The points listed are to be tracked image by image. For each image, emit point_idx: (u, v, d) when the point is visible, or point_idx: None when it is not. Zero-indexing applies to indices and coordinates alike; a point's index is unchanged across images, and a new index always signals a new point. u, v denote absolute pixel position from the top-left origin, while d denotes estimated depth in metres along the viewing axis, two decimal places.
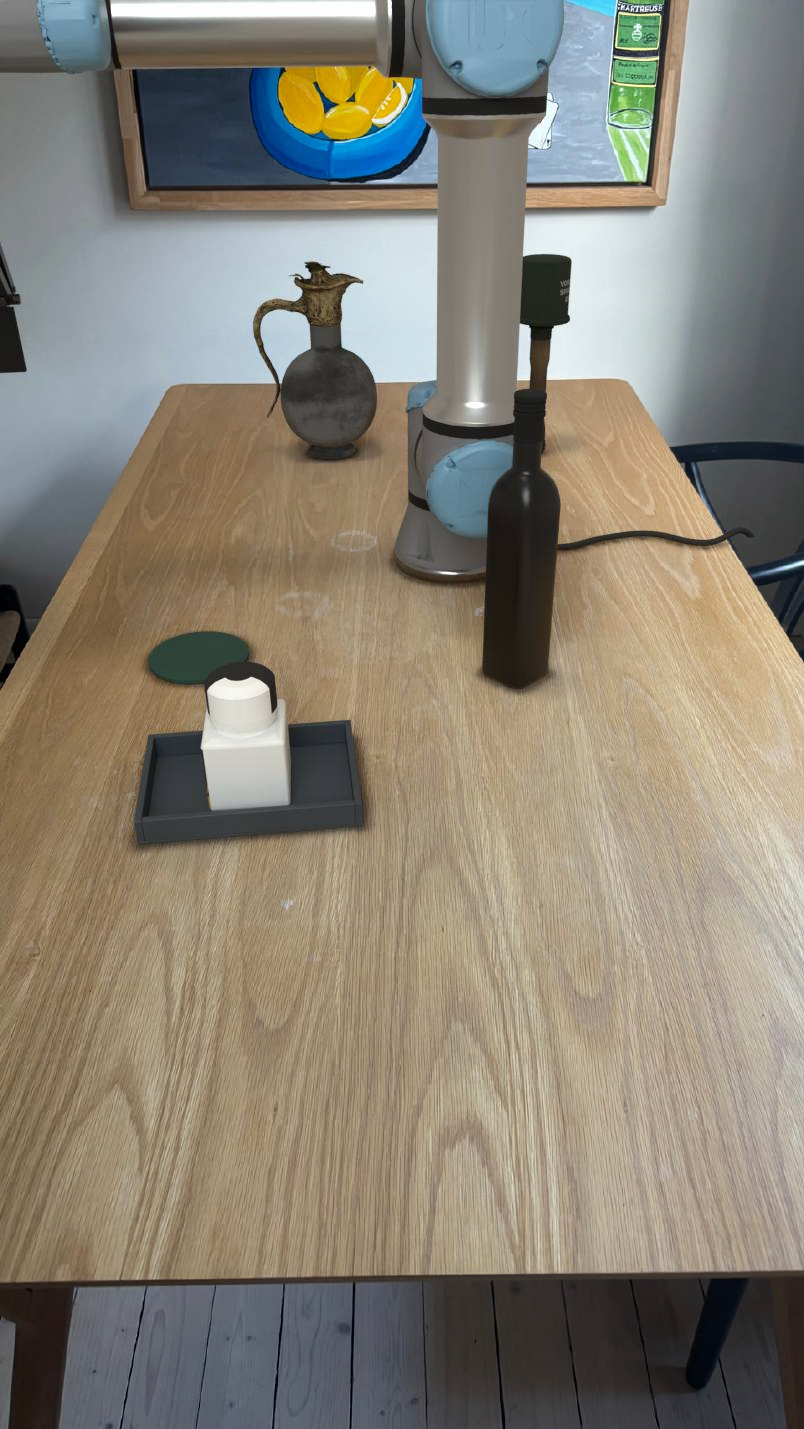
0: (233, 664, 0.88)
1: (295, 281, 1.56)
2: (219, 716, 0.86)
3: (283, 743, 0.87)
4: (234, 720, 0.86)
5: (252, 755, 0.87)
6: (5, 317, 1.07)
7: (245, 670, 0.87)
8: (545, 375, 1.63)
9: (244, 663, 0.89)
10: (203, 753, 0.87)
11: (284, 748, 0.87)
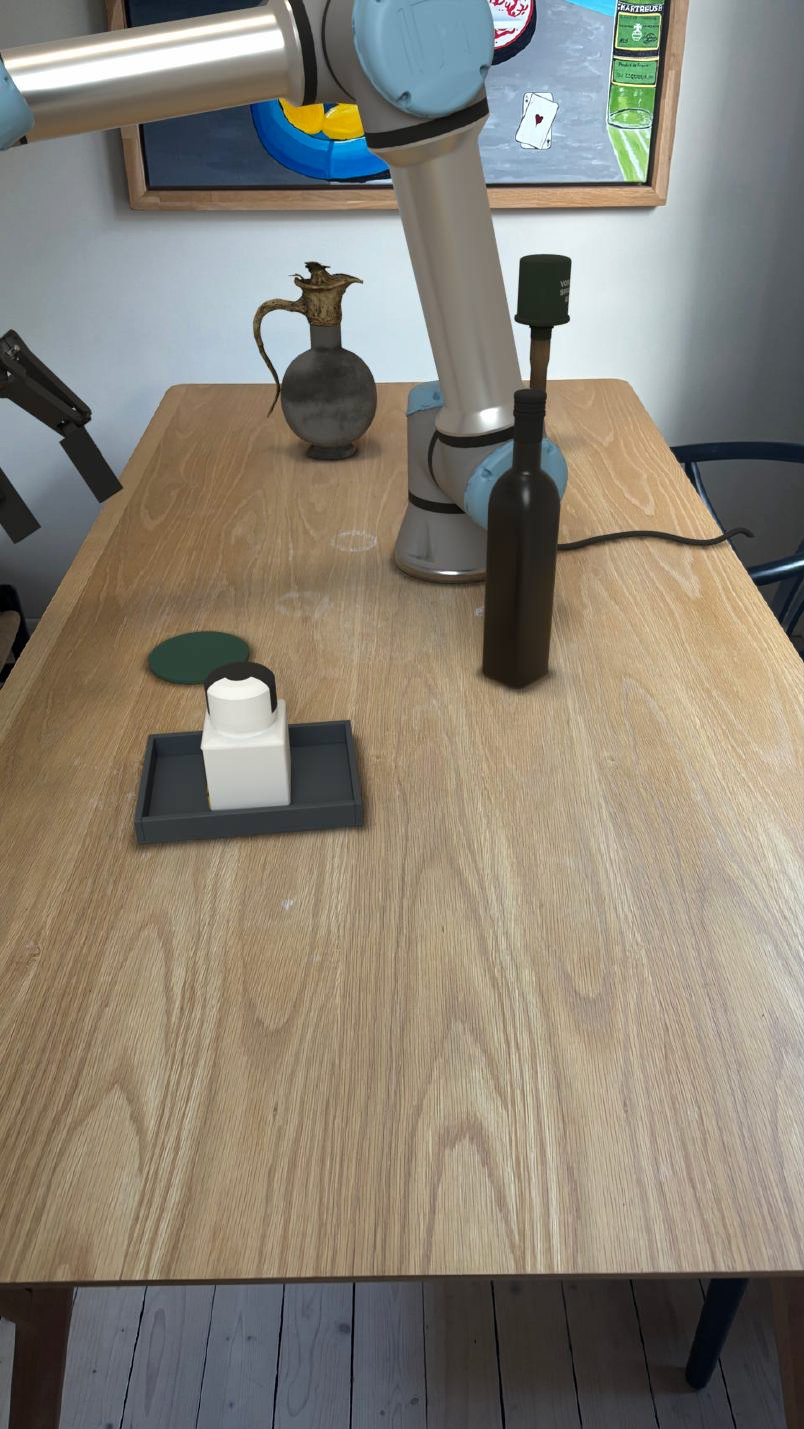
0: (233, 664, 0.88)
1: (295, 281, 1.56)
2: (219, 716, 0.86)
3: (283, 743, 0.87)
4: (234, 720, 0.86)
5: (252, 755, 0.87)
6: (78, 441, 0.94)
7: (245, 670, 0.87)
8: (545, 375, 1.63)
9: (244, 663, 0.89)
10: (203, 753, 0.87)
11: (284, 748, 0.87)
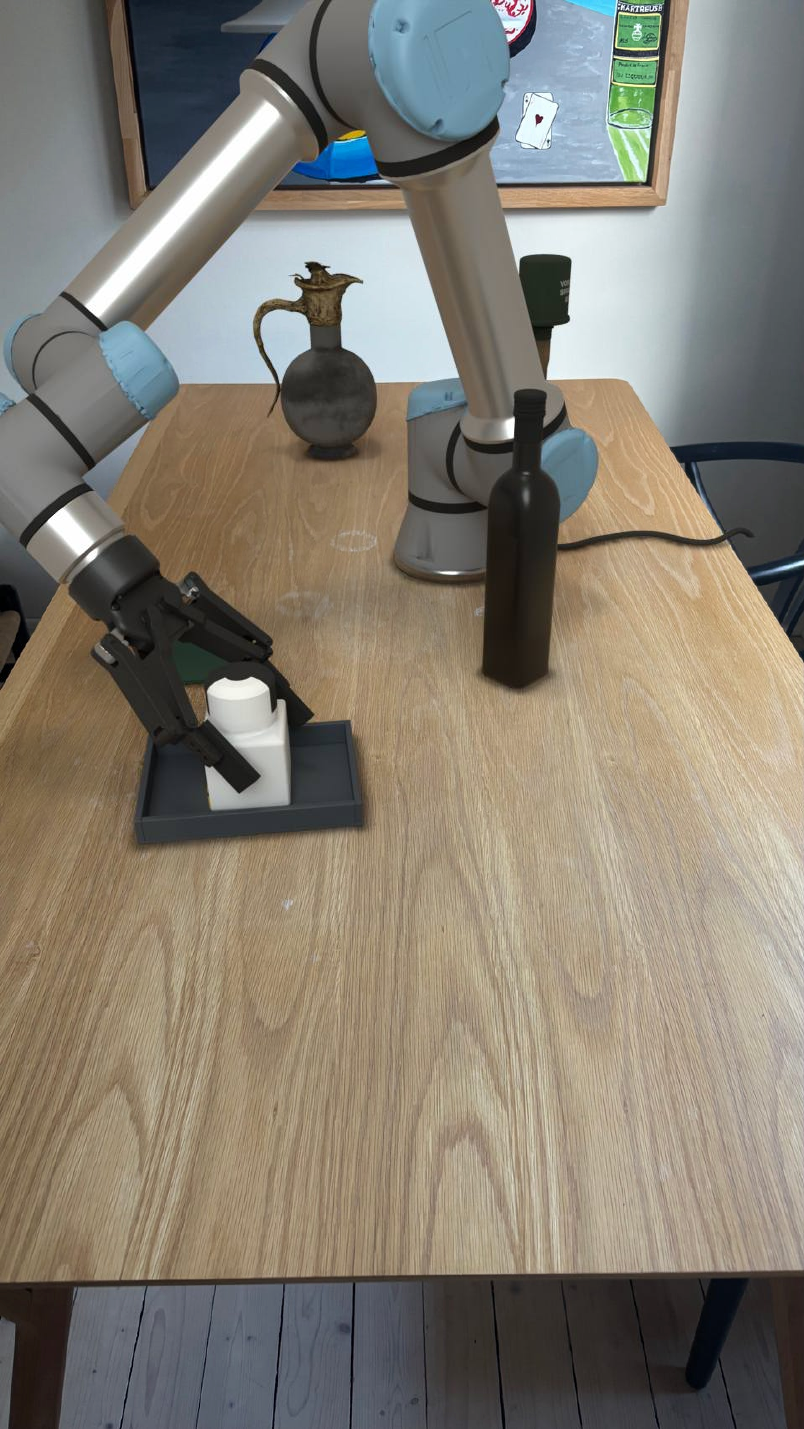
0: (233, 664, 0.88)
1: (295, 281, 1.56)
2: (219, 716, 0.86)
3: (283, 743, 0.87)
4: (234, 720, 0.86)
5: (252, 755, 0.87)
6: None
7: (245, 670, 0.87)
8: (545, 375, 1.63)
9: (244, 663, 0.89)
10: None
11: (284, 748, 0.87)
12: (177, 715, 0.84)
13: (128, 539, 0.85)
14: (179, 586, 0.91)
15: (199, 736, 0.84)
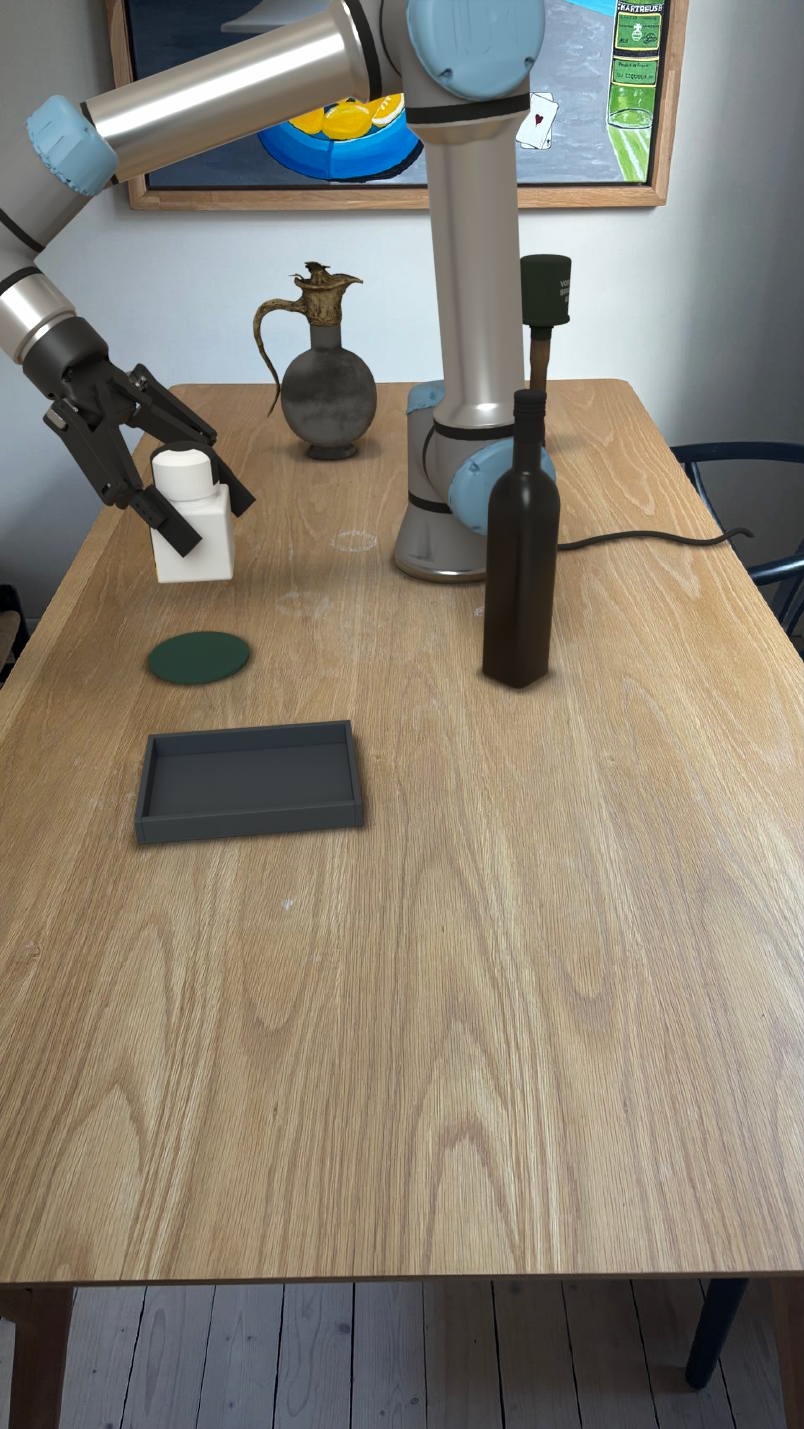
0: (177, 442, 0.95)
1: (295, 281, 1.56)
2: (163, 485, 0.93)
3: (223, 512, 0.94)
4: (178, 488, 0.93)
5: (195, 524, 0.94)
6: None
7: (188, 445, 0.94)
8: (545, 375, 1.63)
9: (187, 441, 0.95)
10: None
11: (225, 517, 0.94)
12: (124, 478, 0.91)
13: (77, 318, 0.92)
14: (128, 375, 0.98)
15: (145, 498, 0.91)
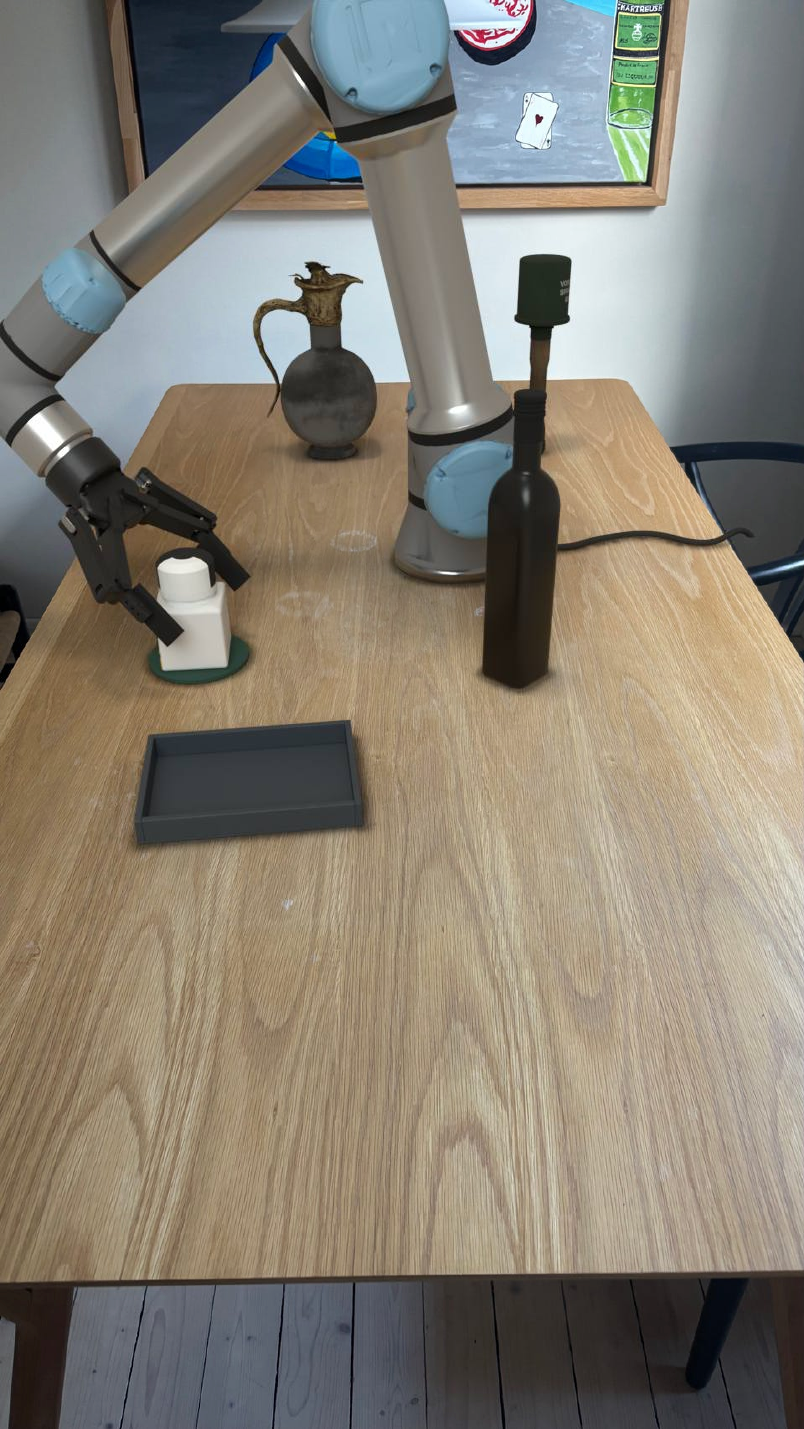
0: (180, 549, 1.09)
1: (295, 281, 1.56)
2: (167, 588, 1.06)
3: (220, 611, 1.07)
4: (180, 592, 1.06)
5: (194, 621, 1.08)
6: (208, 545, 1.14)
7: (189, 552, 1.08)
8: (545, 375, 1.63)
9: (189, 548, 1.09)
10: None
11: (221, 616, 1.08)
12: (116, 577, 1.02)
13: (93, 439, 1.05)
14: (135, 480, 1.11)
15: (133, 596, 1.02)
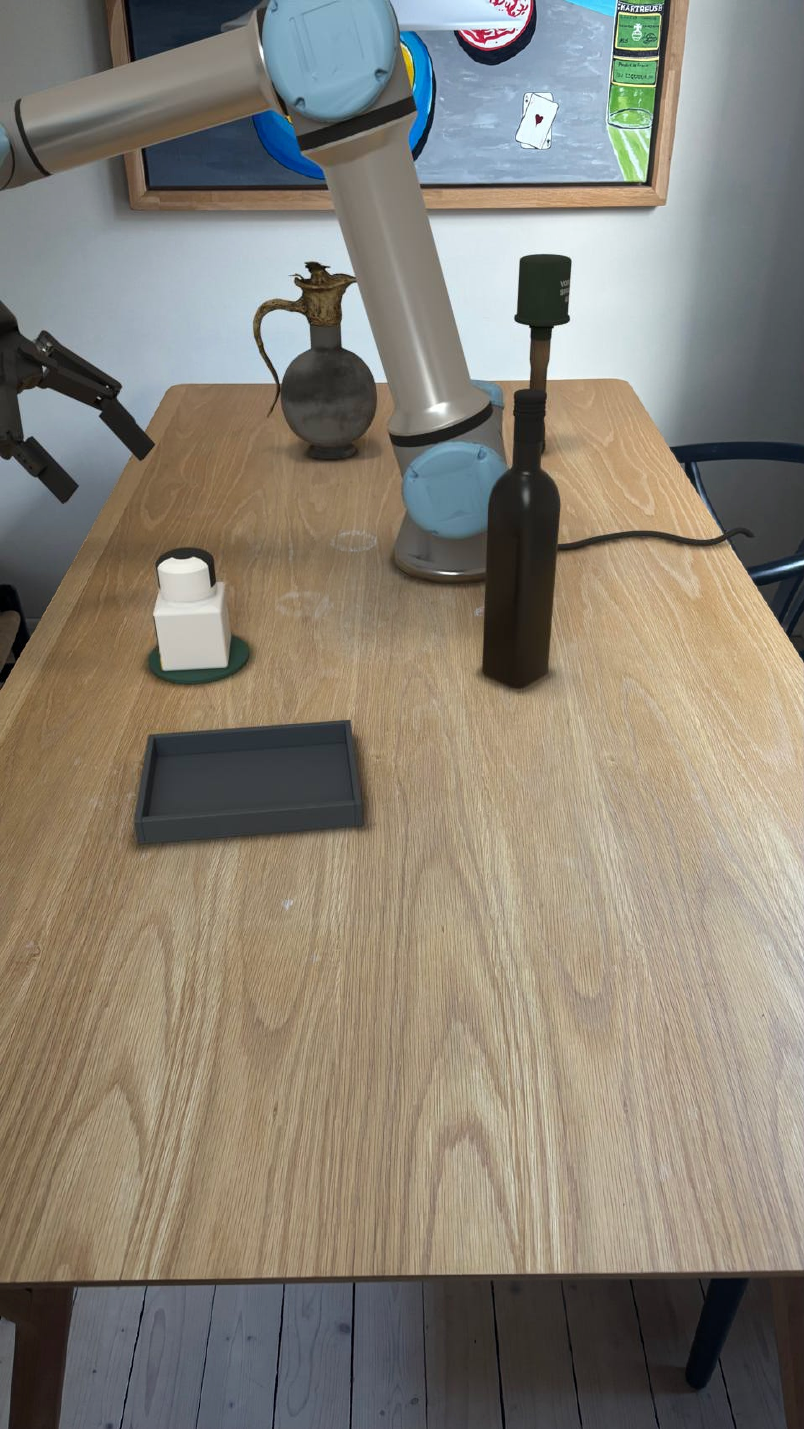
0: (180, 549, 1.09)
1: (295, 281, 1.56)
2: (167, 588, 1.06)
3: (220, 611, 1.07)
4: (180, 592, 1.06)
5: (194, 621, 1.08)
6: (112, 411, 1.12)
7: (189, 552, 1.08)
8: (545, 375, 1.63)
9: (189, 548, 1.09)
10: (155, 619, 1.07)
11: (221, 616, 1.08)
12: (7, 430, 1.01)
13: None
14: (35, 343, 1.09)
15: (25, 448, 1.01)
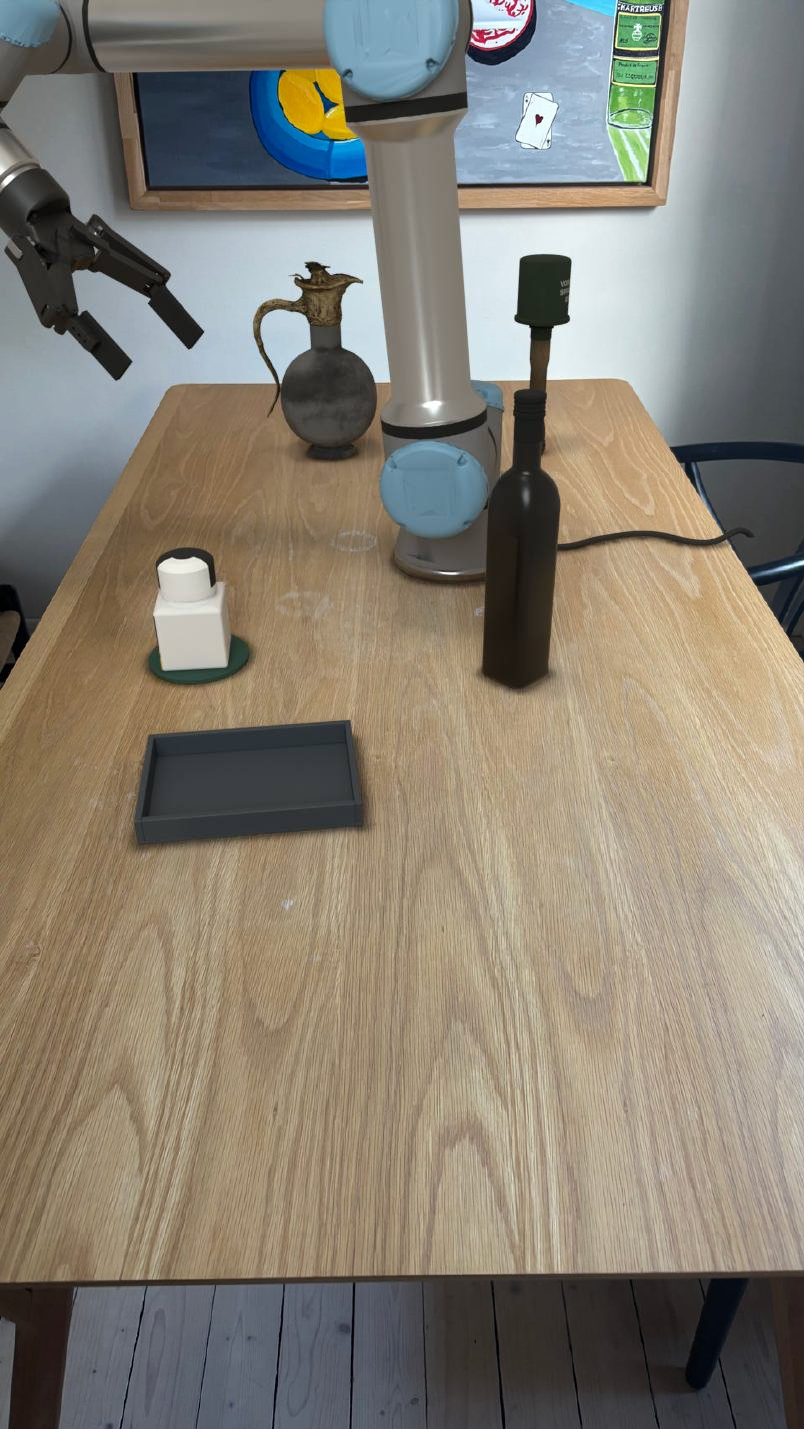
0: (180, 549, 1.09)
1: (295, 281, 1.56)
2: (167, 588, 1.06)
3: (220, 611, 1.07)
4: (180, 592, 1.06)
5: (194, 621, 1.08)
6: (161, 298, 1.12)
7: (189, 552, 1.08)
8: (545, 375, 1.63)
9: (189, 548, 1.09)
10: (155, 619, 1.07)
11: (221, 616, 1.08)
12: (62, 303, 1.01)
13: (41, 169, 1.03)
14: None
15: (79, 322, 1.01)
